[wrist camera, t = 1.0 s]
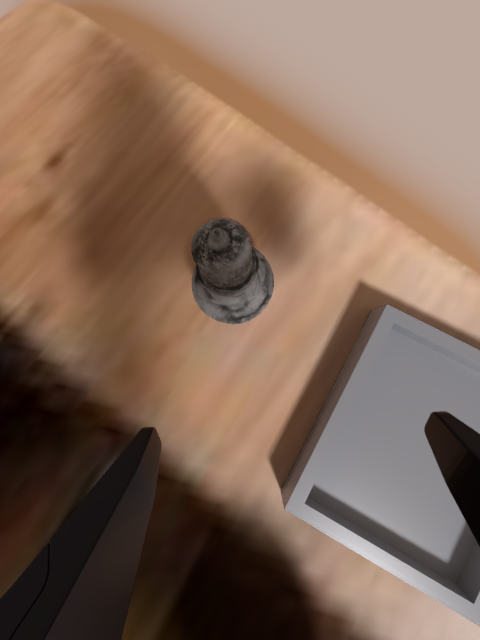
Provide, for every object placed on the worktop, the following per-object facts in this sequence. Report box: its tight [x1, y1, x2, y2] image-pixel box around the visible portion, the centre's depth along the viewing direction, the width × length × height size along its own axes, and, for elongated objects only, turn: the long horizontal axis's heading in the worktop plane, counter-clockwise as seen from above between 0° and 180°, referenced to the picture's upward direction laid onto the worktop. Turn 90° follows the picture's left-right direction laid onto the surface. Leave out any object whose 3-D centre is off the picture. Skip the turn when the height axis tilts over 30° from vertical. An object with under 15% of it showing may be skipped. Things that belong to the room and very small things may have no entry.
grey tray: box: [281, 304, 480, 626], centre depth 20 cm, size 16×14×2 cm
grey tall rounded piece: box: [192, 218, 274, 324], centre depth 17 cm, size 6×6×12 cm
